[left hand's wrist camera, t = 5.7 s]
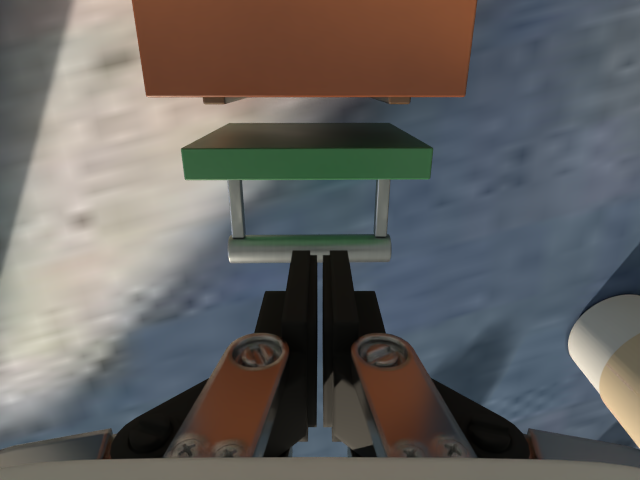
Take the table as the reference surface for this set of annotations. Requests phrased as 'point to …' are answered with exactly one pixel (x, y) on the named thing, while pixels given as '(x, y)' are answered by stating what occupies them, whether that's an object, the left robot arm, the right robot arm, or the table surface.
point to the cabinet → (305, 47)
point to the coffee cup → (612, 356)
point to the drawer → (307, 175)
